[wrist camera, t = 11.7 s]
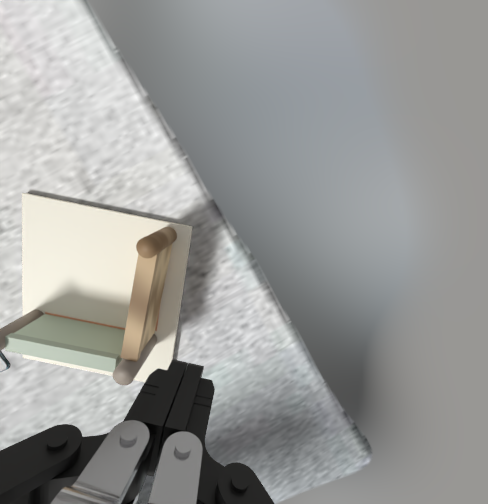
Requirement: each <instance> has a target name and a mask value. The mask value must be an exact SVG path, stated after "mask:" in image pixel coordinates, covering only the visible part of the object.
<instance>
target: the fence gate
mask: <svg viewBox="0 0 488 504" xmlns="http://www.w3.org/2000/svg"><path fill="white" fill-rule="evenodd" d="M176 239H177V233H176V231H175V230H174V229H173V228H171V227H164V228H162V229H160V230H158V231H156V232H154V233H152V234H150V235H148V236H146V237H143V238H141V239H140V240H139V241H138V242H137V245H136V249H137V252H138V259H137V264H136V270H135V276H134V282H133V288H132V293H131V299H130V305H129V311H128V317H127V322H126V328H125V334H124V340H123V346H122V351H121V357H120V358H123V359H127V360H131V361H135V362H137V361H138V359H139V358H140V353H141V352H142V350H143V349H144V347H145V346H146V344H147V343H148V341H149V340H150V338H151V337H152V336H153V334H154V333H155V328H156V323H157V318H158V313H159V308H160V303H161V298H162V293H163V289H164V284H165V279H166V274H167V269H168V264H169V259H170V254H171V249H172V244H173V242H175V241H176Z"/></svg>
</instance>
